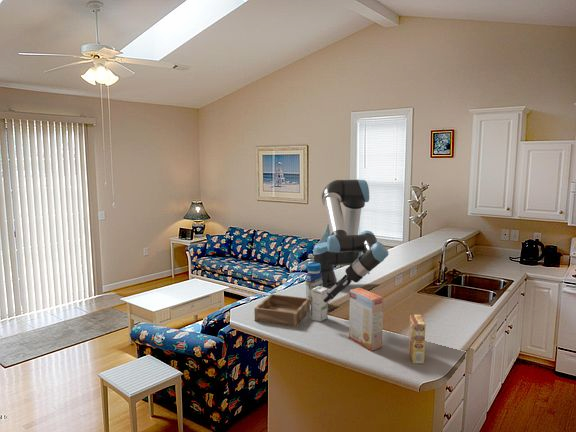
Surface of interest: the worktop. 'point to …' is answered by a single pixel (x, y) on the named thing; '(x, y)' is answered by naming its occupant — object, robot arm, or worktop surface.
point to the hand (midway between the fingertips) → (323, 299)
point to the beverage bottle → (313, 278)
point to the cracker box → (366, 318)
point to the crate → (282, 310)
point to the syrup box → (316, 309)
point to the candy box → (417, 339)
